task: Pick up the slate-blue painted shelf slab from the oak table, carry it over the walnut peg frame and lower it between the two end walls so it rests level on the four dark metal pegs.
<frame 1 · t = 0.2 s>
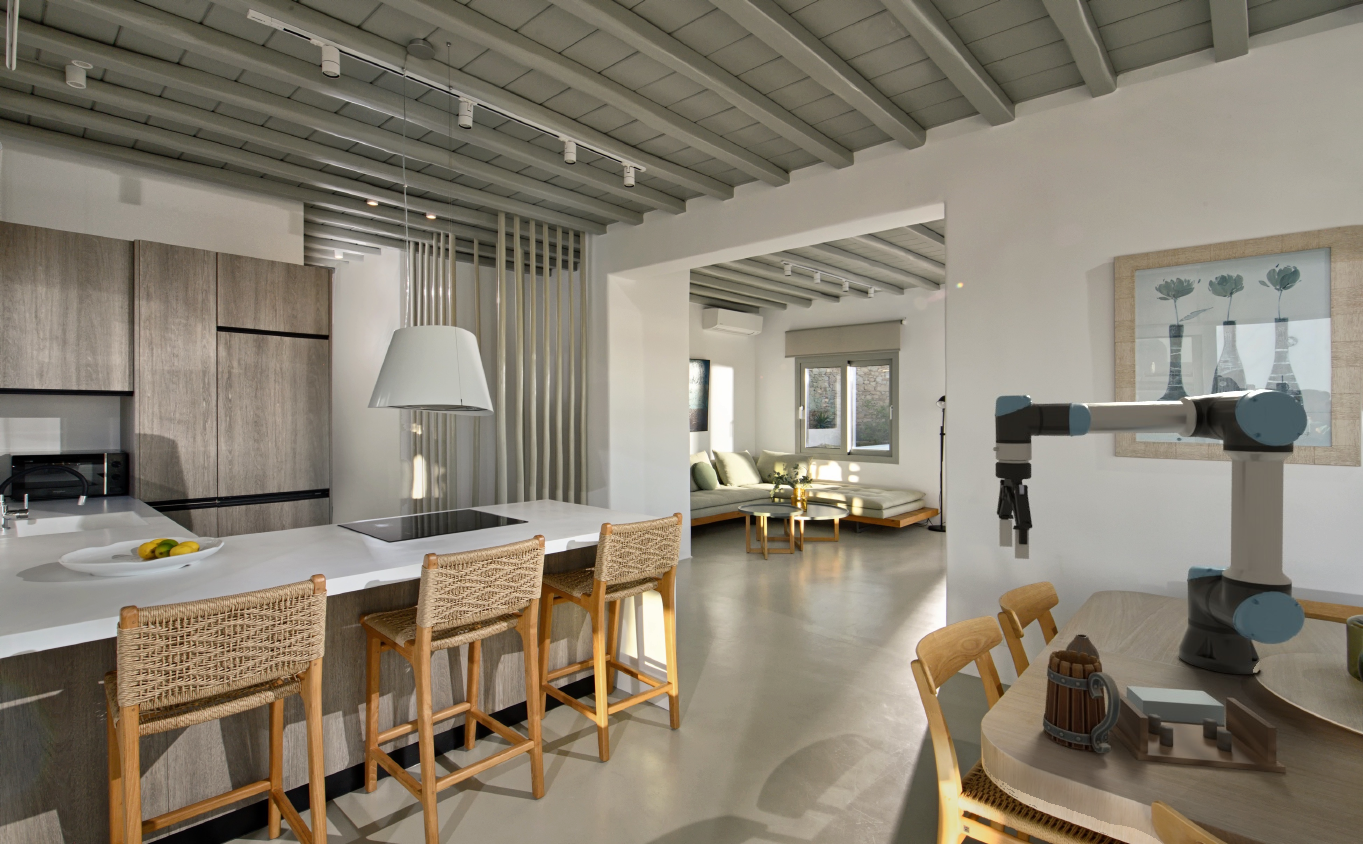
hand: (1013, 552, 156), 28 cm above the table, fingers open, 13 cm apart
peg frame: (1188, 746, 120), on the table
mug: (1084, 746, 121), on the table
board: (1173, 715, 133), on the table
vase: (1082, 674, 154), on the table
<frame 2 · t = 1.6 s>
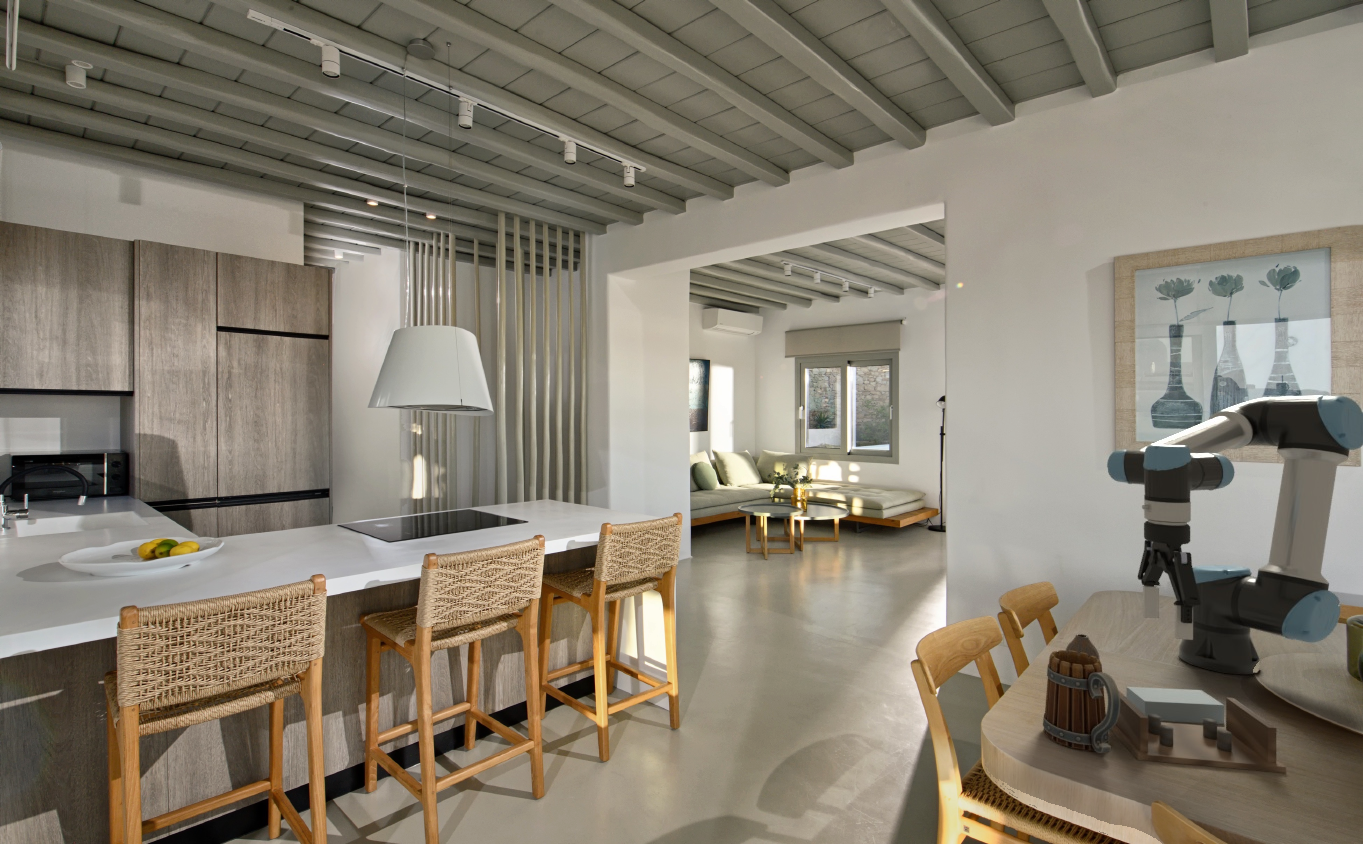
hand: (1166, 627, 134), 17 cm above the table, fingers open, 13 cm apart
nothing on the table moved.
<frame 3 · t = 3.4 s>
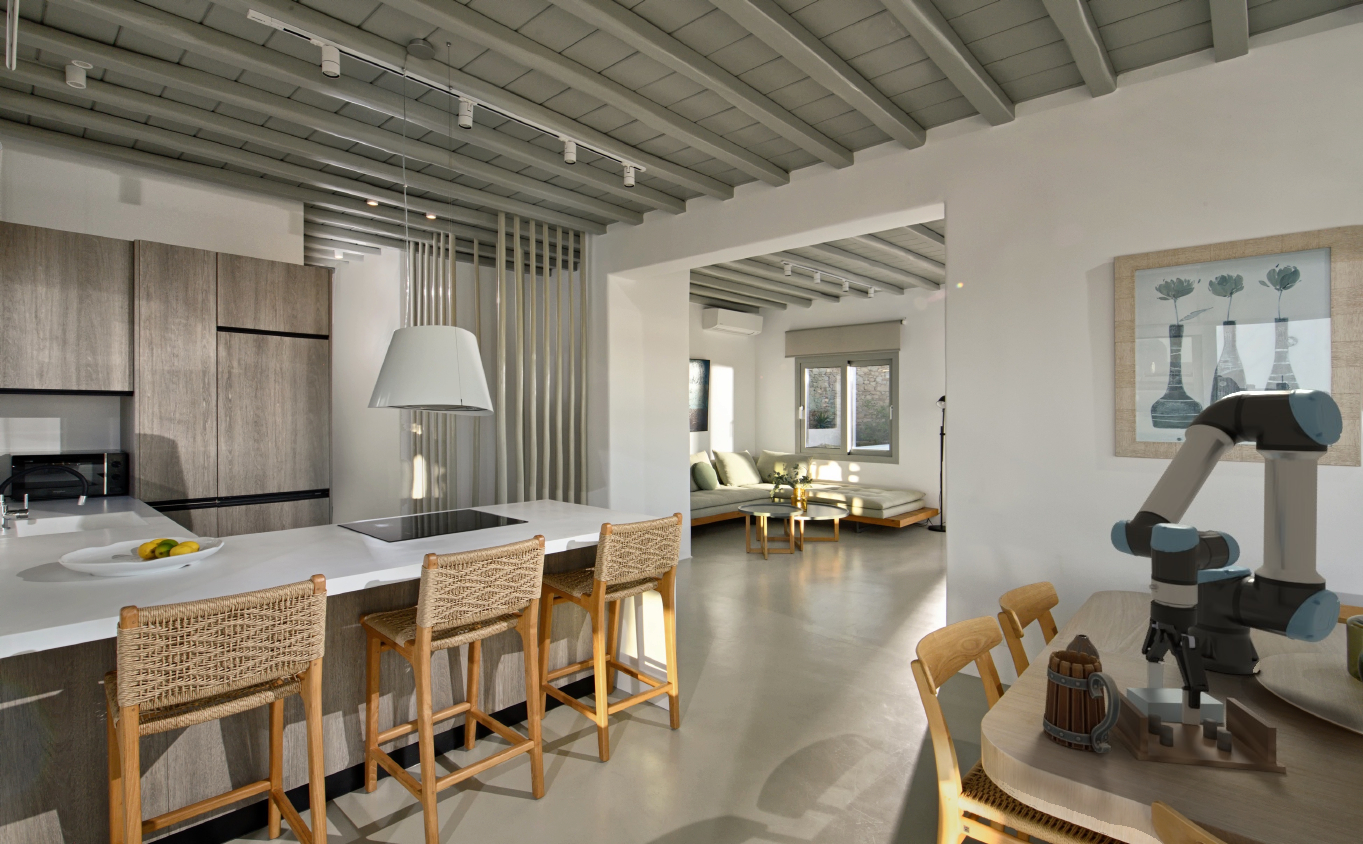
hand: (1172, 708, 133), 1 cm above the table, fingers open, 13 cm apart
nothing on the table moved.
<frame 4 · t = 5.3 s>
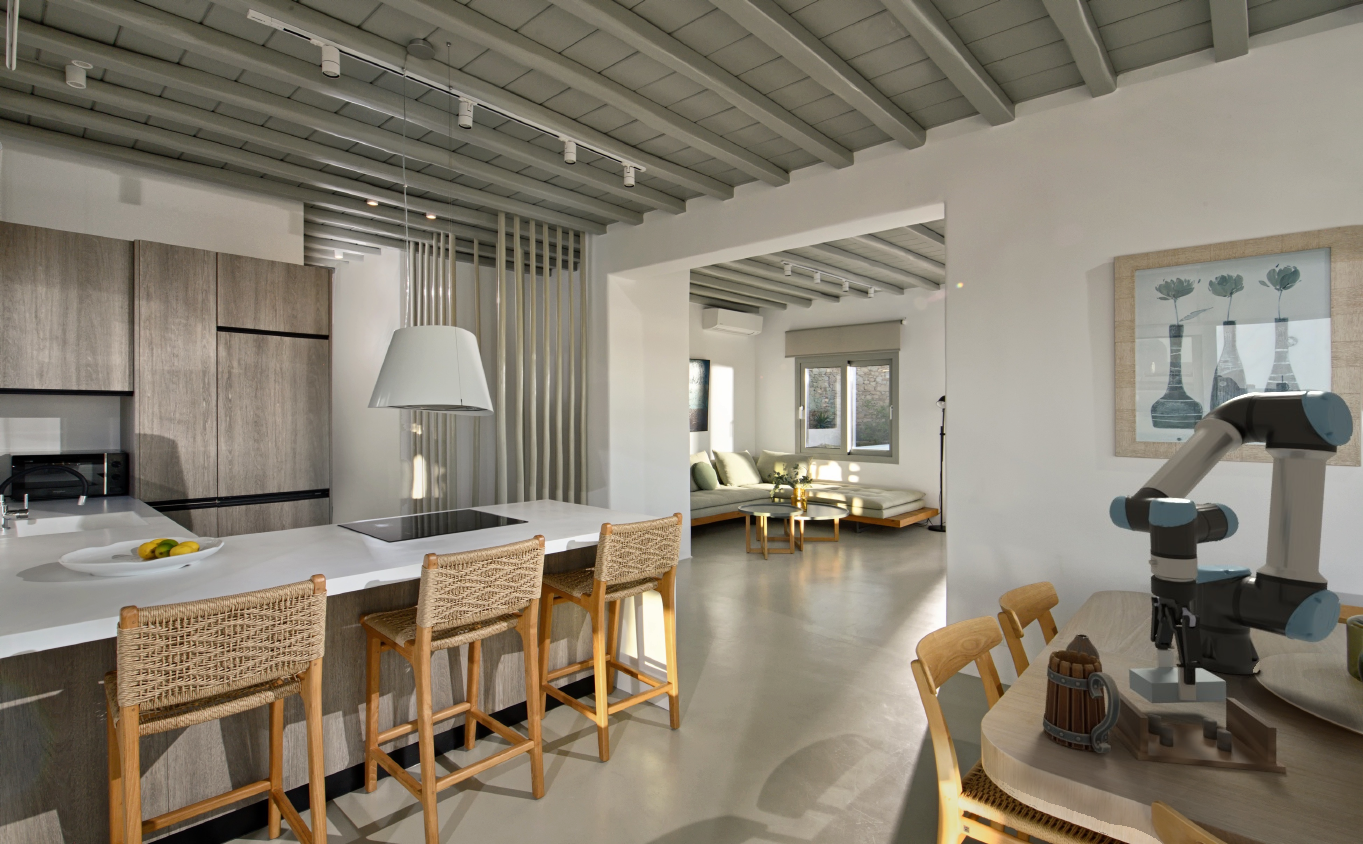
hand: (1176, 689, 133), 5 cm above the table, fingers closed on board, 8 cm apart
board: (1176, 694, 133), point 4 cm above the table, touching gripper
everything else where it was.
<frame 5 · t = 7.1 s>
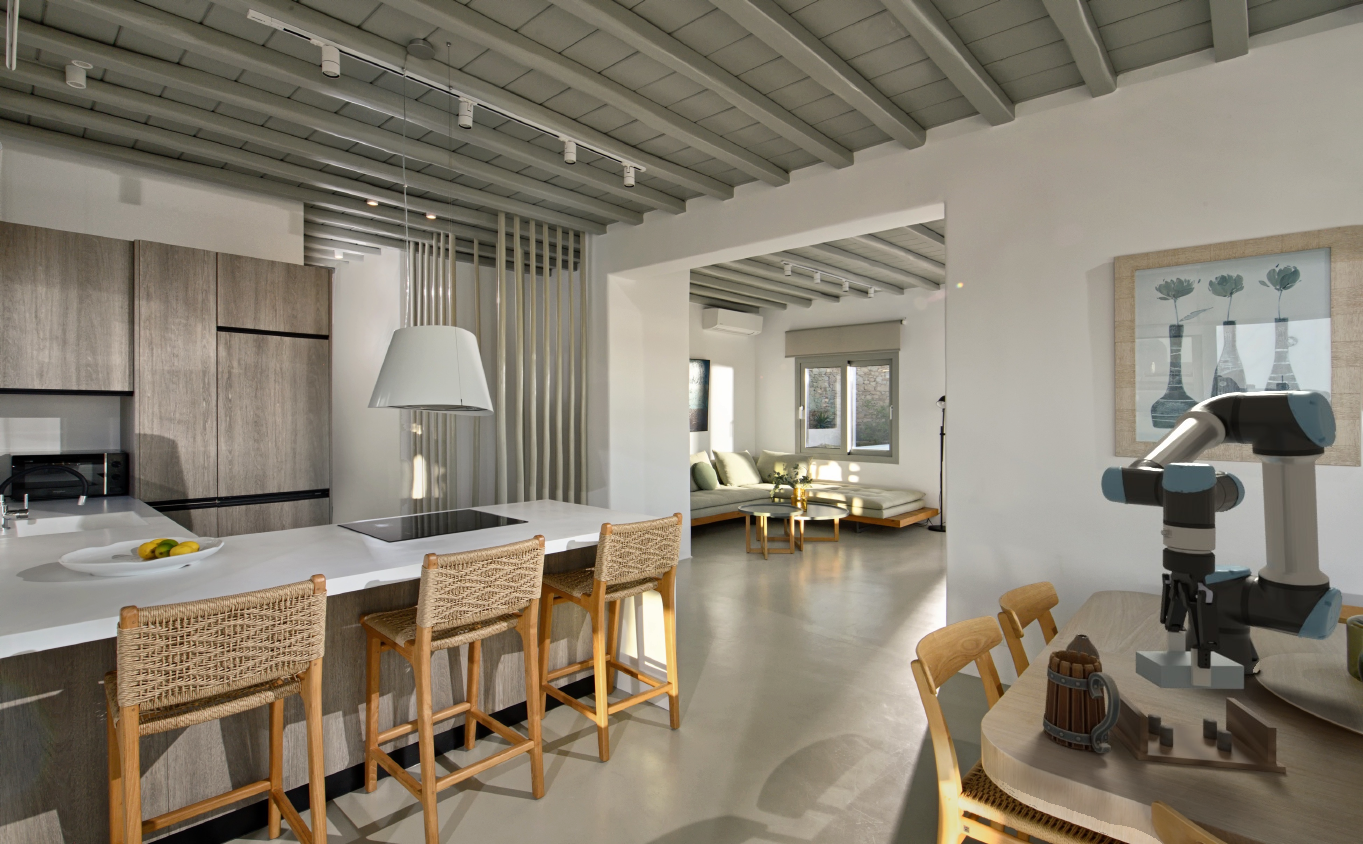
hand: (1187, 675, 120), 13 cm above the table, fingers closed on board, 8 cm apart
board: (1188, 680, 120), point 12 cm above the table, touching gripper
everything else where it was.
when the fingers open (4 cm above the table, at t = 9.2 s): board stays where it is, resting on peg frame.
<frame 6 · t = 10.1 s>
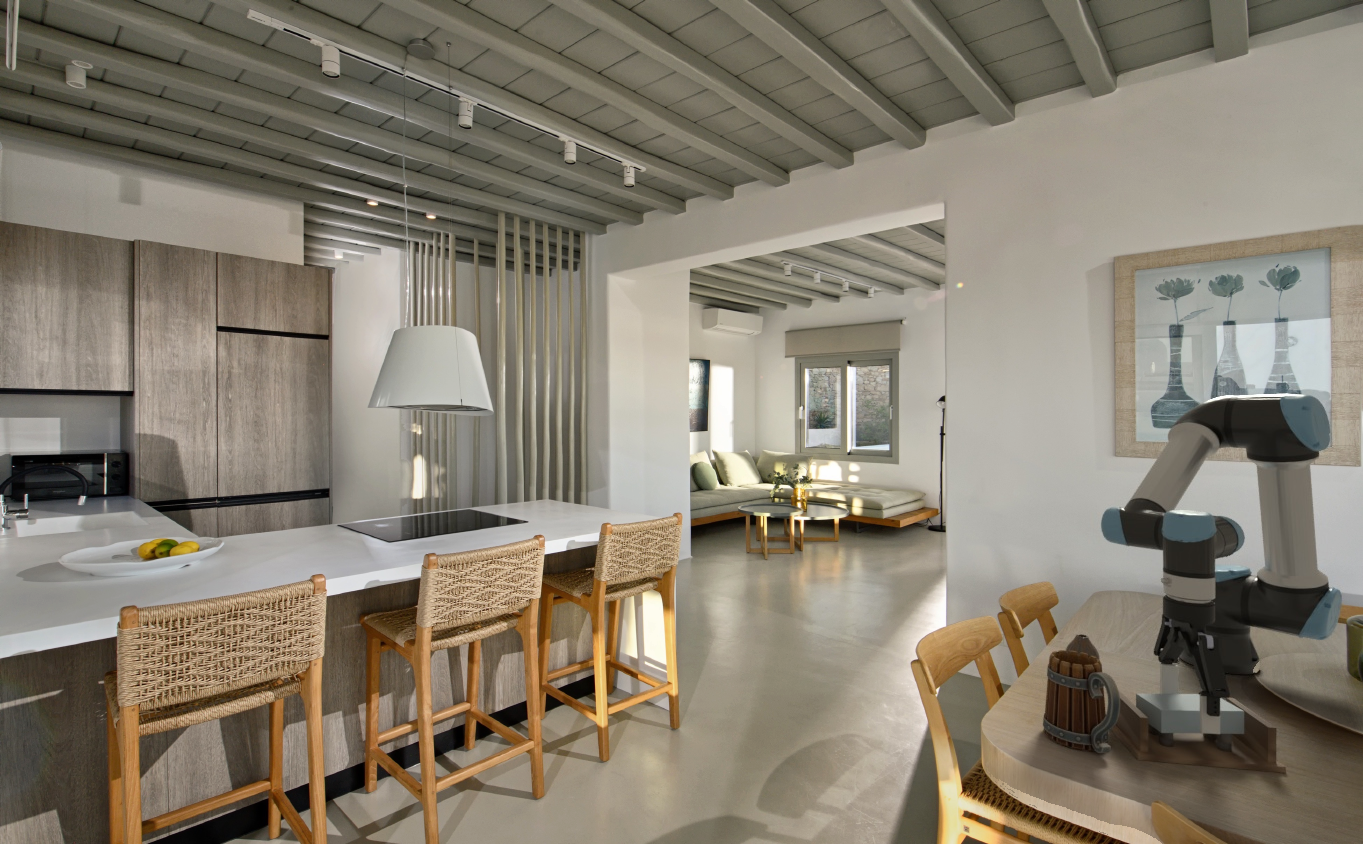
hand: (1188, 715, 120), 6 cm above the table, fingers open, 13 cm apart
board: (1188, 724, 120), point 4 cm above the table, touching peg frame
everything else where it was.
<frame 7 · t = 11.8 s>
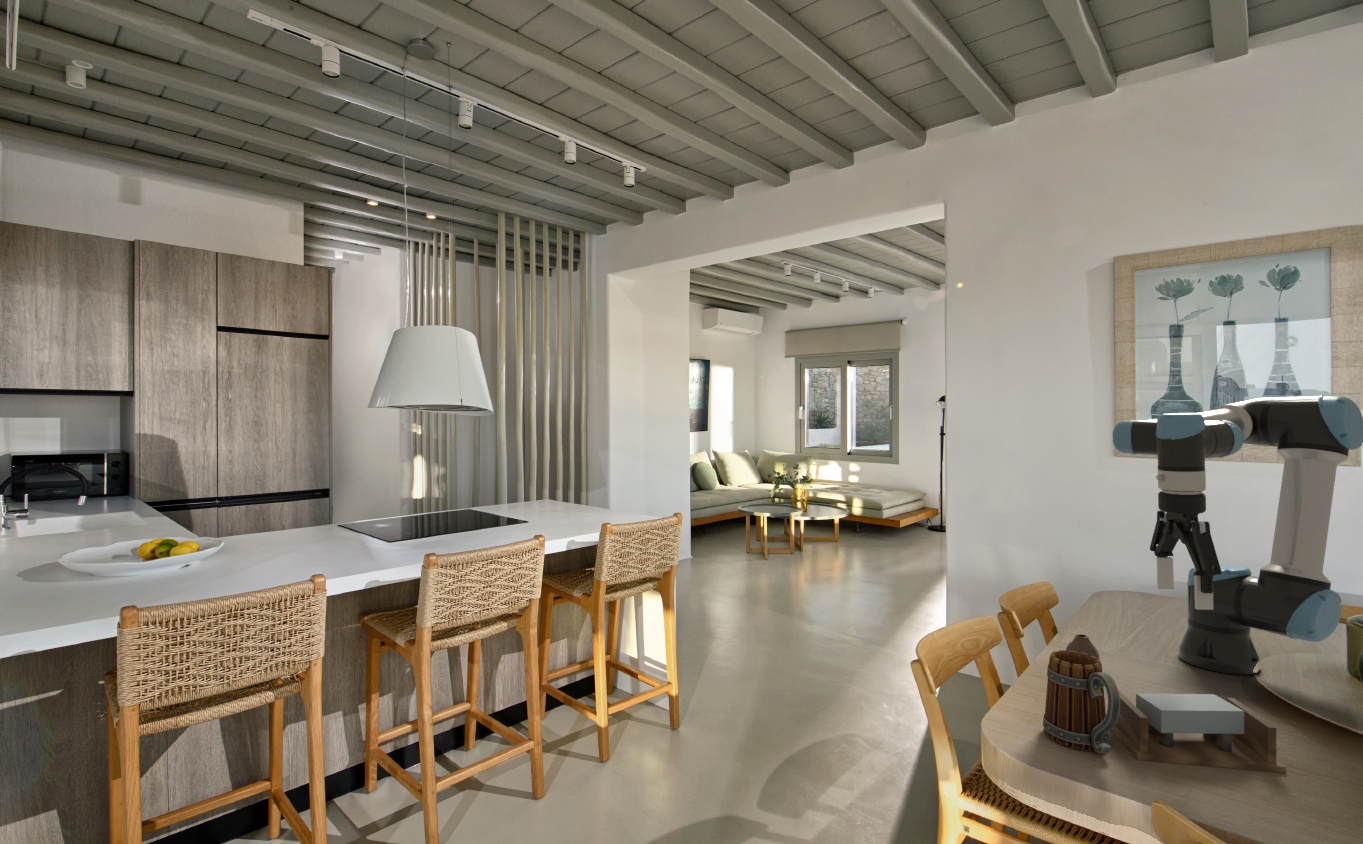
hand: (1183, 598, 132), 23 cm above the table, fingers open, 13 cm apart
nothing on the table moved.
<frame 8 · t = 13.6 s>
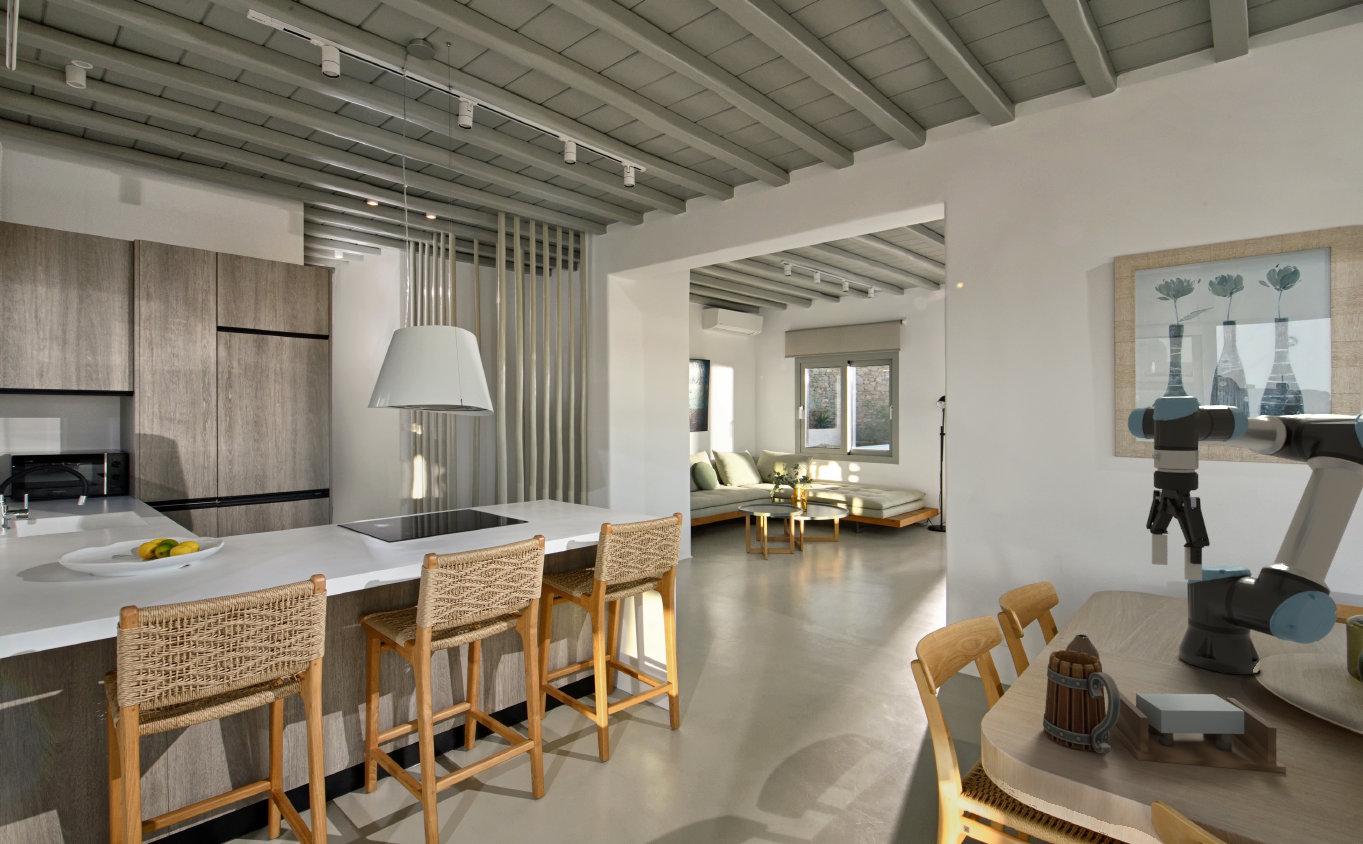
hand: (1175, 571, 140), 27 cm above the table, fingers open, 13 cm apart
nothing on the table moved.
at the end: board 0.0 cm off-centre on the peg frame, point 4.0 cm above the peg frame's base; board tilted 0°; the gripper is holding nothing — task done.
